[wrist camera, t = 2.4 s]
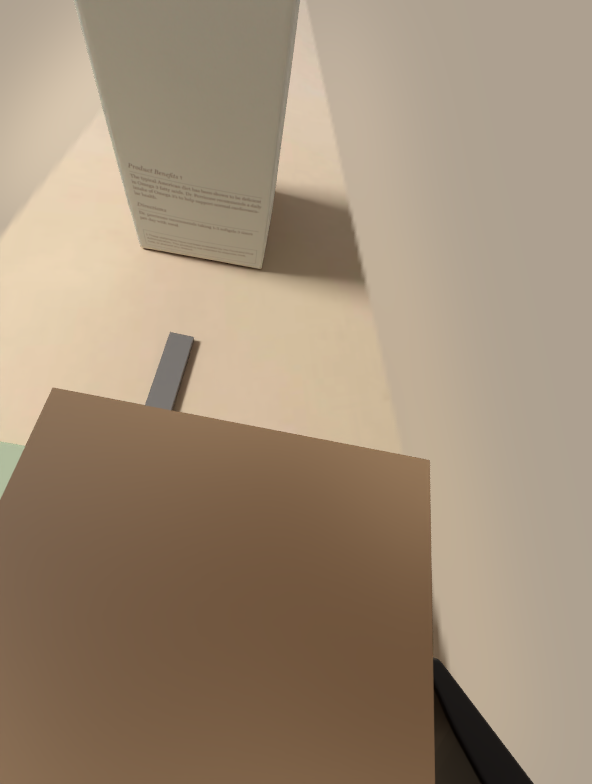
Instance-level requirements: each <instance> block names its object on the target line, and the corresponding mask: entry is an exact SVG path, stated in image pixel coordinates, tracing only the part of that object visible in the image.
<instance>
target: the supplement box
mask: <svg viewBox="0 0 592 784" xmlns="http://www.w3.org/2000/svg"><path fill="white" fill-rule="evenodd" d="M74 3H75V7H76V11H77V14H78V18H79V21H80V25H81V29H82V32H83V36H84V39H85V43H86V47H87V51H88V55H89V59H90V63H91V66H92V70H93V74H94V78H95V82H96V85H97V89H98V93H99V96H100V100H101V104H102V108H103V111H104V115H105V119H106V123H107V127H108V130H109V134H110V138H111V141H112V145H113V149H114V152H115V156H116V160H117V164H118V168H119V172H120V175H121V179H122V183H123V186H124V190H125V194H126V198H127V201H128V205H129V208H130V211H131V215H132V218H133V222H134V226H135V229H136V233H137V236H138V240H139V244H140V246H141V247H142V248H147V249H153V250H159V251H165V252H170V253H176V254H181V255H187V256H192V257H198V258H204V259H209V260H215V261H220V262H225V263H231V264H236V265H242V266H248V267H253V268H258V269H261V268H262V264H263V259H264V254H265V248H266V243H267V237H268V232H269V227H270V221H271V215H272V208H273V202H274V195H275V188H276V181H277V172H278V164H279V156H280V149H281V141H282V134H283V126H284V119H285V112H286V104H287V97H288V89H289V82H290V74H291V67H292V59H293V51H294V43H295V35H296V28H297V20H298V12H299V4H300V0H74Z"/></svg>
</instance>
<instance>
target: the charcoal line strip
mask: <svg viewBox="0 0 592 784" xmlns="http://www.w3.org/2000/svg"><path fill="white" fill-rule="evenodd" d="M193 341H194V337H191V336H186V335H182V334H177V333H172V332H170V334H169V337H168V340H167V343H166V346H165V349H164V351H163V354H162V357H161V360H160V363H159V366H158V369H157V372H156V375H155V378H154V381H153V384H152V386H151V389H150V392H149V395H148V398H147V401H146V404H145V405H146V406H151V407H156V408H162V409H167V410H173V407H174V403H175V400H176V397H177V394H178V390H179V387H180V384H181V380H182V377H183V374H184V371H185V367H186V364H187V361H188V358H189V354H190V351H191V348H192V345H193Z"/></svg>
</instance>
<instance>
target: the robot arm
mask: <svg viewBox="0 0 592 784" xmlns="http://www.w3.org/2000/svg"><path fill="white" fill-rule="evenodd" d="M433 690H434V750H435V784H533V782H532V781H531V780H530V778H529V777H528V776H527V775H526V773H525V772H524V771H523V769H522V768H521V767H520V765H519V764H518V763H517V761H516V760H515V759H514V757H513V756H512V755H511V753H510V752H509V751H508V749H507V748H506V747H505V745H504V744H503V743H502V741H501V740H500V739H499V738H498V736H497V735H496V734H495V732H494V731H493V730H492V728H491V727H490V726H489V724H488V723H487V722H486V720H485V719H484V718H483V717H482V715H481V714H480V713H479V711H478V710H477V708H476V707H475V706H474V705H473V703H472V702H471V701H470V699H469V698H468V697H467V695H466V694H465V693H464V691H463V690H462V689H461V688H460V686H459V685H458V683H457V682H456V681H455V680H454V678H453V677H452V676H451V674H450V673H449V672H448V670H447V669H446V668H445V666H444V665H443V664H442V663H441V662H440V661H439V660H438V659H436V658H433Z"/></svg>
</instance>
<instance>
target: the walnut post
mask: <svg viewBox="0 0 592 784" xmlns="http://www.w3.org/2000/svg"><path fill="white" fill-rule="evenodd" d="M430 513H431V510H430V461H429V460H426V459H421V458H416V457H411V456H406V455H400V454H395V453H390V452H385V451H380V450H374V449H369V448H364V447H359V446H354V445H349V444H343V443H338V442H333V441H328V440H323V439H317V438H312V437H307V436H302V435H297V434H291V433H286V432H281V431H276V430H271V429H265V428H260V427H255V426H250V425H245V424H239V423H234V422H229V421H224V420H219V419H214V418H208V417H203V416H198V415H193V414H188V413H182V412H177V411H172V410H167V409H162V408H156V407H151V406H146V405H141V404H136V403H130V402H125V401H120V400H115V399H110V398H104V397H99V396H94V395H89V394H84V393H79V392H73V391H68V390H63V389H58V388H52V390H51V393H50V395H49V397H48V399H47V401H46V403H45V405H44V407H43V410H42V412H41V414H40V416H39V418H38V420H37V422H36V424H35V427H34V429H33V431H32V433H31V435H30V437H29V439H28V441H27V444H26V446H25V448H24V450H23V452H22V454H21V456H20V458H19V461H18V463H17V465H16V467H15V469H14V471H13V473H12V475H11V478H10V480H9V482H8V484H7V486H6V488H5V490H4V492H3V495H2V497H1V499H0V784H435V750H434V690H433V630H432V570H431V514H430Z"/></svg>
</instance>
